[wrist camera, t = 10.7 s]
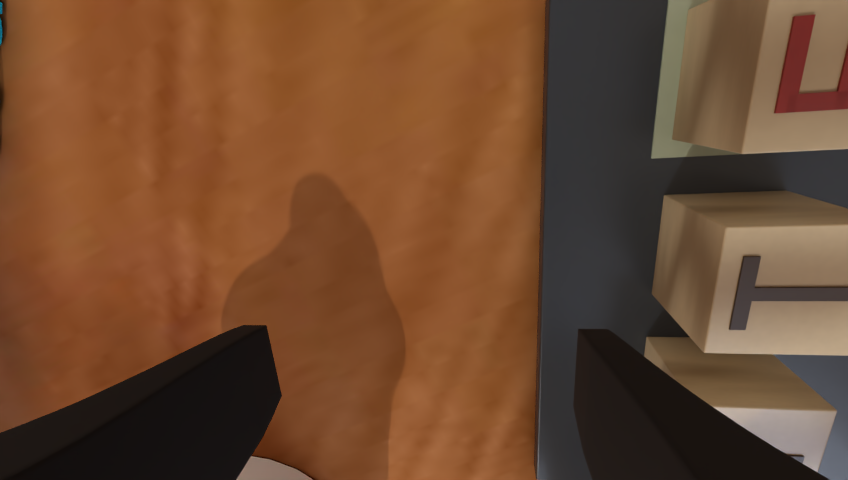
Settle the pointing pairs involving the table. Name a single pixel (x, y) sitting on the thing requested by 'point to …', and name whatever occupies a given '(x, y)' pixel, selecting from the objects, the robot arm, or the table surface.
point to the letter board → (626, 214)
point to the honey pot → (269, 471)
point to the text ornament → (0, 23)
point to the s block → (764, 76)
